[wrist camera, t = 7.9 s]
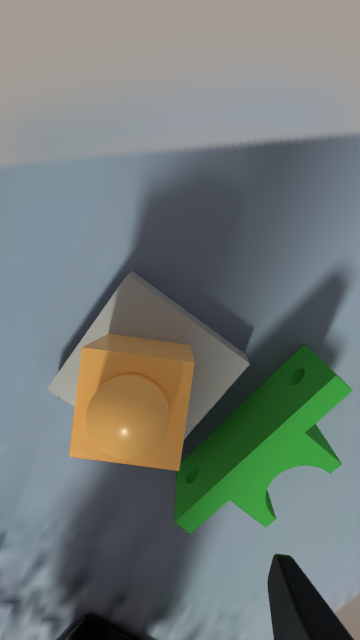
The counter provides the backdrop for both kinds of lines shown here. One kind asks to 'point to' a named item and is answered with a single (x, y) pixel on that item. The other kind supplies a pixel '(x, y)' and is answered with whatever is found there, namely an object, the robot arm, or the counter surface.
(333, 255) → the counter surface
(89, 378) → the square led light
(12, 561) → the counter surface
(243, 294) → the counter surface
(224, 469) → the pipe clamp
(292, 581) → the robot arm
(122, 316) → the plate
